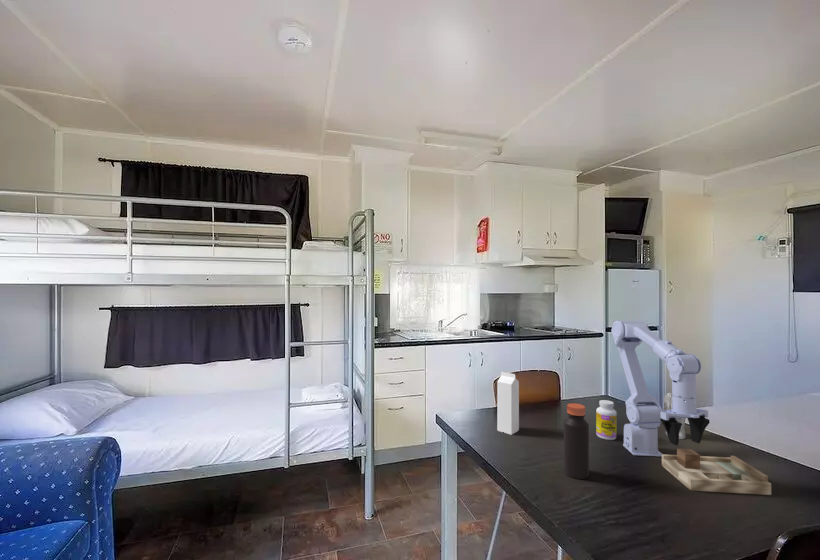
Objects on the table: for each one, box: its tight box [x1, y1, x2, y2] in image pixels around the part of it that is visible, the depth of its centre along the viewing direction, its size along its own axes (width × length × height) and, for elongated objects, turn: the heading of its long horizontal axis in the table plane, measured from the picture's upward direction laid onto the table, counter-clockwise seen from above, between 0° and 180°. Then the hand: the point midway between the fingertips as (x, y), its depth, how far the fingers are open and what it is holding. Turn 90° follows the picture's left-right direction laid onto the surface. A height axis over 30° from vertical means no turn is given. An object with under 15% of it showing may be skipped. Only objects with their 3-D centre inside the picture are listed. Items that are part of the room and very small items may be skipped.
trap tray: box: [661, 453, 772, 496], centre depth 108 cm, size 20×14×4 cm
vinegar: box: [563, 402, 590, 480], centre depth 111 cm, size 7×7×20 cm
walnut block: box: [676, 448, 701, 469], centre depth 111 cm, size 4×4×4 cm
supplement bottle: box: [595, 399, 618, 441], centre depth 138 cm, size 7×7×13 cm
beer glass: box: [663, 392, 687, 440], centre depth 139 cm, size 7×7×15 cm
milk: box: [496, 371, 520, 436], centre depth 143 cm, size 6×6×22 cm
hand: (684, 443), depth 109 cm, fingers open, 7 cm apart
